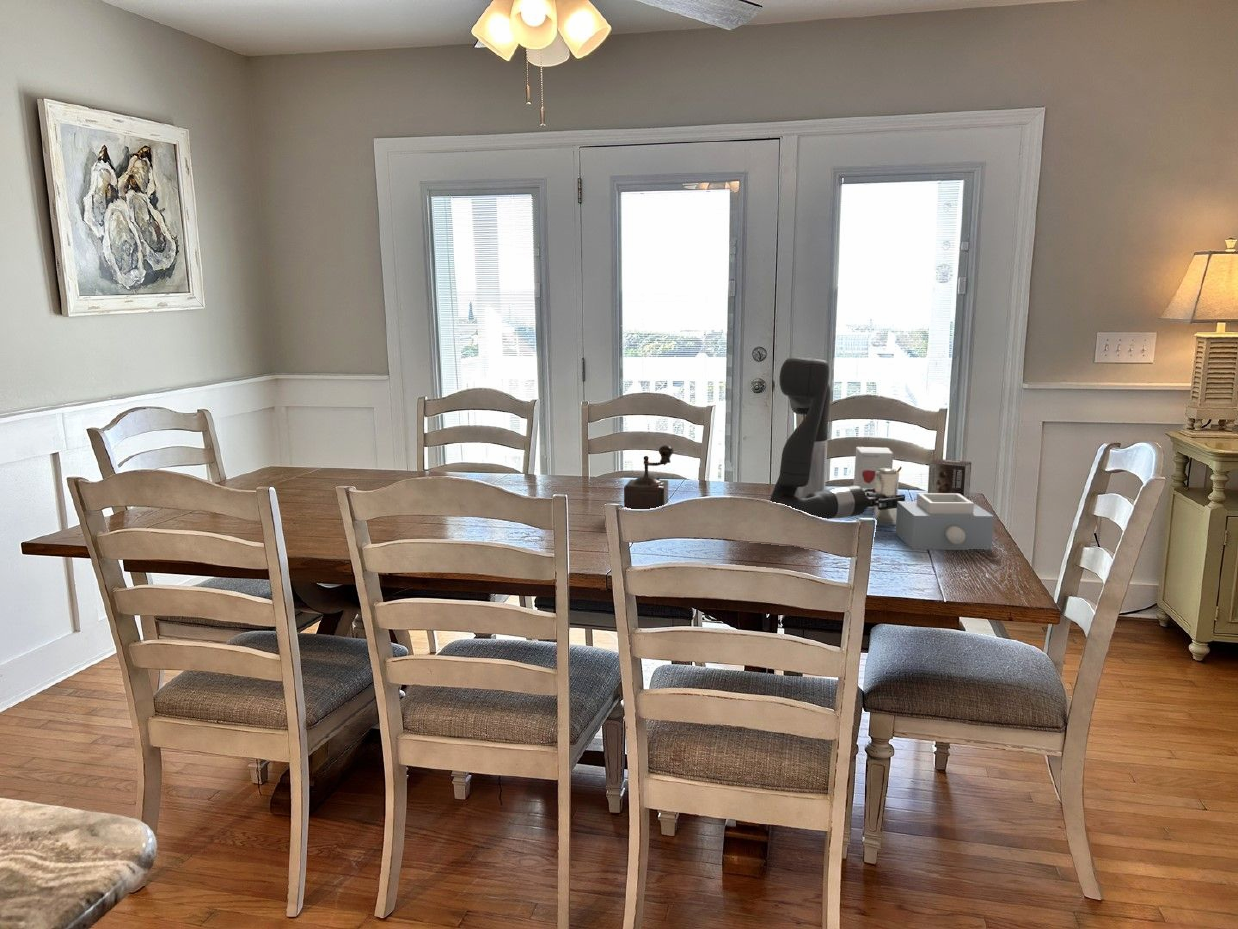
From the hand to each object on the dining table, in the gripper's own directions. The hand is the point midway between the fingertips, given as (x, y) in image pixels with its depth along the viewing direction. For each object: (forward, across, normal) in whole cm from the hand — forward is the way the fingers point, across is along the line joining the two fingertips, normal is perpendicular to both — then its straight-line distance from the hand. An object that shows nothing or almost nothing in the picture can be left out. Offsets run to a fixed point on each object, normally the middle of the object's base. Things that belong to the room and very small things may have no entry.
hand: (891, 495), depth 233 cm
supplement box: (+11, +18, +7) cm, 22 cm away
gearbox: (-3, -21, +7) cm, 22 cm away
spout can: (-2, 0, +7) cm, 7 cm away
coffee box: (+11, -9, +7) cm, 16 cm away
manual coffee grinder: (-51, +34, +7) cm, 62 cm away
